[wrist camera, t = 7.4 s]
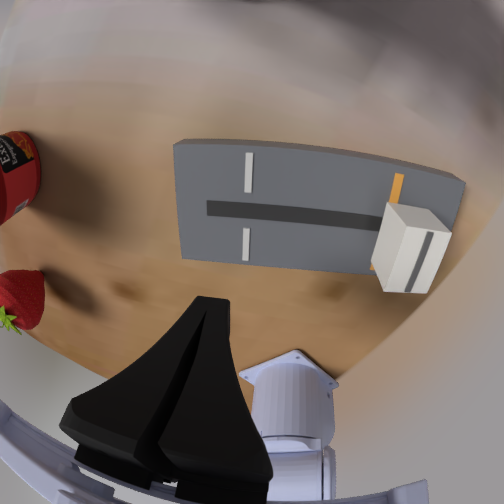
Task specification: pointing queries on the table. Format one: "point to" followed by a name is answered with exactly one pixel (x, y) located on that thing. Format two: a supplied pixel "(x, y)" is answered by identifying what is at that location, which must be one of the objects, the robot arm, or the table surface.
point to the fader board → (296, 202)
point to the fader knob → (409, 248)
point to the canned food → (17, 173)
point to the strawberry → (21, 299)
